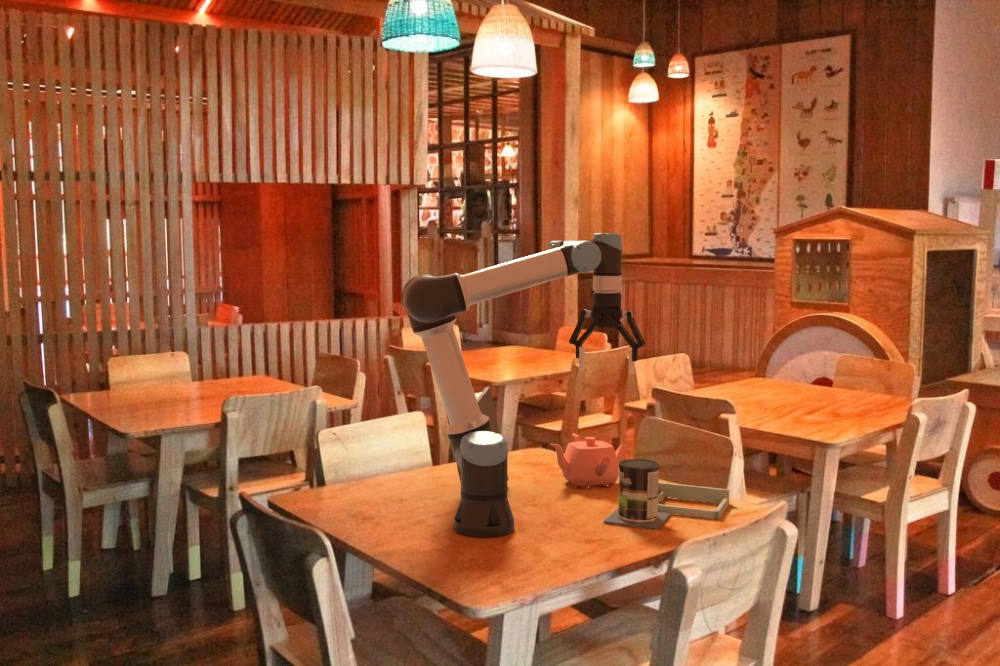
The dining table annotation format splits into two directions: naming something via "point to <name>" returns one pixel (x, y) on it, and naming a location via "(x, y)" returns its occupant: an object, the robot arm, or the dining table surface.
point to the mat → (652, 525)
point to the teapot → (590, 461)
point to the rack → (694, 494)
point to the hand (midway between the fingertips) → (606, 372)
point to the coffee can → (638, 490)
